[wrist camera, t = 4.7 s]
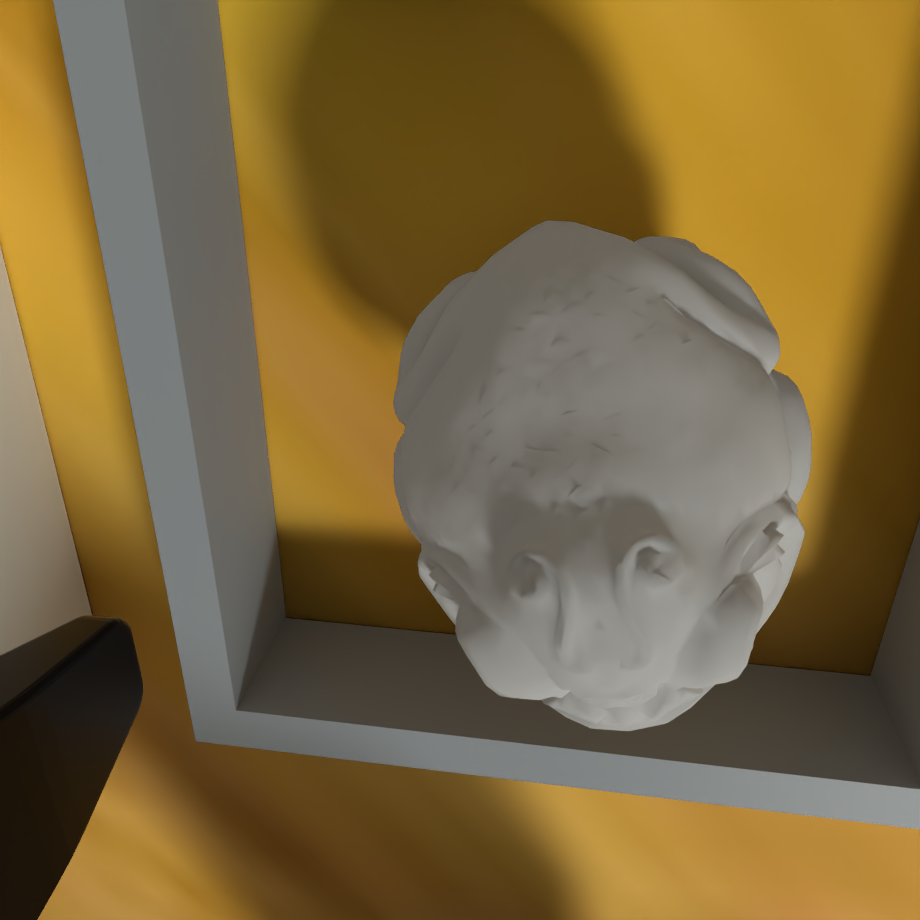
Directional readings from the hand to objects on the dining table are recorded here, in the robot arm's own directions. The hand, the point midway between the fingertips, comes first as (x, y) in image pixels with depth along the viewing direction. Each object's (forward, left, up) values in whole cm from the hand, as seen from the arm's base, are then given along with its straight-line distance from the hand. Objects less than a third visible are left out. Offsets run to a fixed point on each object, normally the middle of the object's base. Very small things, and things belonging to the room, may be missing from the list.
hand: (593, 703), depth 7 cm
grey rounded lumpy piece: (0, 0, -9) cm, 9 cm away
